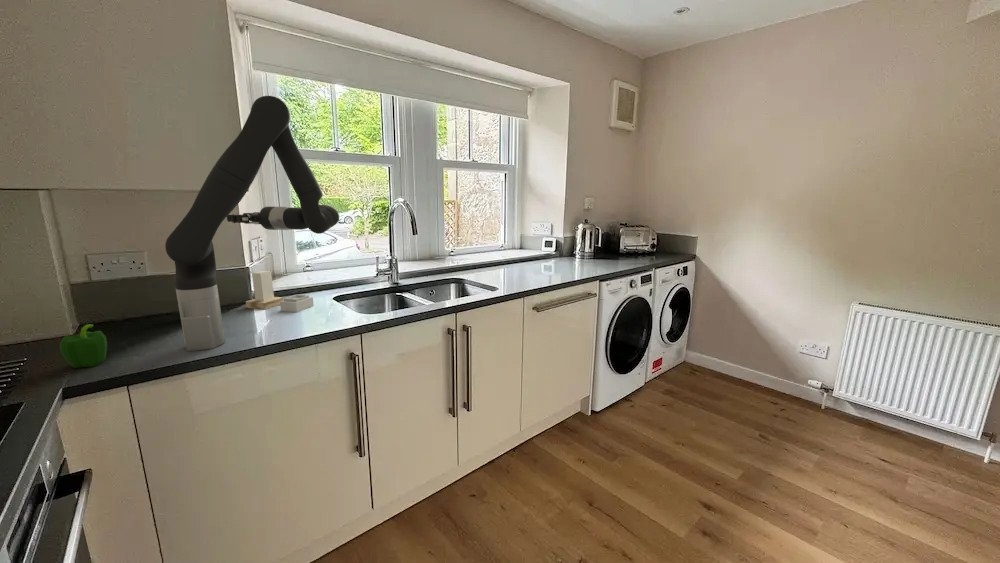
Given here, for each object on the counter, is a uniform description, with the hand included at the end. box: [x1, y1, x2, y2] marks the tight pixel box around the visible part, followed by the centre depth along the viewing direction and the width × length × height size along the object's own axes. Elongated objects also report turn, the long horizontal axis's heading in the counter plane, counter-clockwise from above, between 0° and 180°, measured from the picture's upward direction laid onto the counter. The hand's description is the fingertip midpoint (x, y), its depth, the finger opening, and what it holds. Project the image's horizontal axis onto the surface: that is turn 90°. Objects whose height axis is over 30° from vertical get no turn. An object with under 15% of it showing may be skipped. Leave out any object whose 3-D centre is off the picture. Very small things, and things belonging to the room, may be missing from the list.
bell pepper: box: [58, 323, 108, 369], centre depth 99 cm, size 8×8×10 cm
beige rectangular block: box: [279, 294, 315, 313], centre depth 151 cm, size 9×7×4 cm
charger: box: [251, 270, 275, 301], centre depth 153 cm, size 5×4×11 cm
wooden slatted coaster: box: [245, 296, 284, 310], centre depth 154 cm, size 9×9×2 cm
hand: (239, 217), depth 132 cm, fingers open, 8 cm apart
